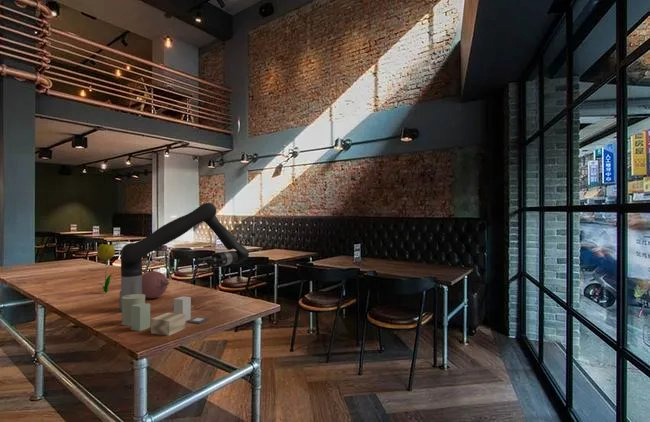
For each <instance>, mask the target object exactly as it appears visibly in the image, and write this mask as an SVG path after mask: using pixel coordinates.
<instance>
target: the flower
mask: <svg viewBox="0 0 650 422" xmlns="http://www.w3.org/2000/svg"><path fill="white" fill-rule="evenodd" d="M114 247H115V246H114V245H113V244H109V243H108V244H107V243H105V244H104V243H102V244H99V246H98V247H97V251H96V252H97V256H98V258H99V259H100V260H103V261H104V262H105V265H107V262H108V261H109V260H111V259H113V257H114V256H115V254H116V250H115V248H114ZM112 275H114V274H113V273H111V274H109V275H108V276H107V271H105V276H104V277H105V281H104V285H103V284H102V283H99V285H101V286H102V289H103V292H104V293H106V294H107V292H108V291H109V285H110V283H111V282H110V281H111V278H112Z"/></svg>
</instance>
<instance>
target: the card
mask: <svg viewBox="0 0 650 422" xmlns="http://www.w3.org/2000/svg"><path fill="white" fill-rule="evenodd" d="M208 321H210V318H207V317H206V318H205V317H198V316H196V317H193V318H191V319H189V320H187V321H186V323H189V324H195V325H201V324H203V323H206V322H208Z"/></svg>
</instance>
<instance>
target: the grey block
mask: <svg viewBox="0 0 650 422" xmlns="http://www.w3.org/2000/svg"><path fill="white" fill-rule="evenodd" d="M191 299H192V297H191V296H183V295H182V296H178V297H176V298H173V313H176V314H185V322H187V321H188V320H191V319H192V316H191V315H192V313H191V312H192V303H191V302H192V300H191Z"/></svg>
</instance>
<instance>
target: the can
mask: <svg viewBox="0 0 650 422" xmlns="http://www.w3.org/2000/svg"><path fill="white" fill-rule="evenodd" d="M139 303H146V298H145V295H144V294H131V295H126V296H123V297H122V311H121V323H120V324H121V325H122V326H130V327H131V306H132V305H135V304H139Z"/></svg>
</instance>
